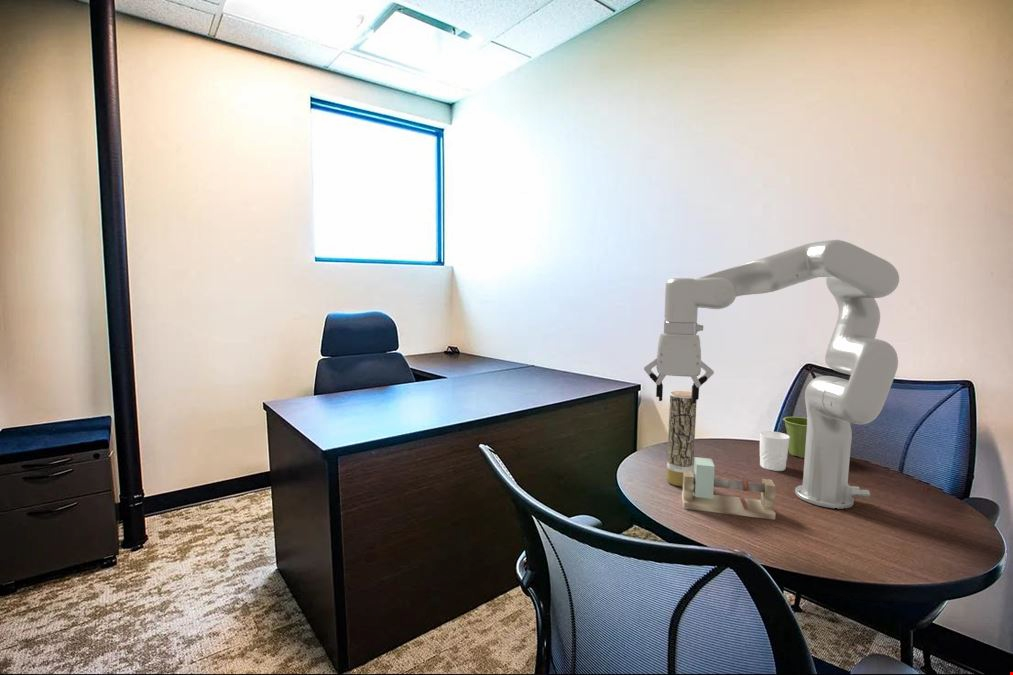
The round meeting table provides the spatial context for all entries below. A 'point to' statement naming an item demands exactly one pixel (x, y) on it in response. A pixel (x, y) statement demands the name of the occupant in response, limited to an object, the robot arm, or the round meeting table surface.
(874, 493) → the round meeting table surface
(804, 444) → the plant pot
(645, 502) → the round meeting table surface
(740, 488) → the rod stand
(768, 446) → the white cup
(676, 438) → the paper tube
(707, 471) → the collar
